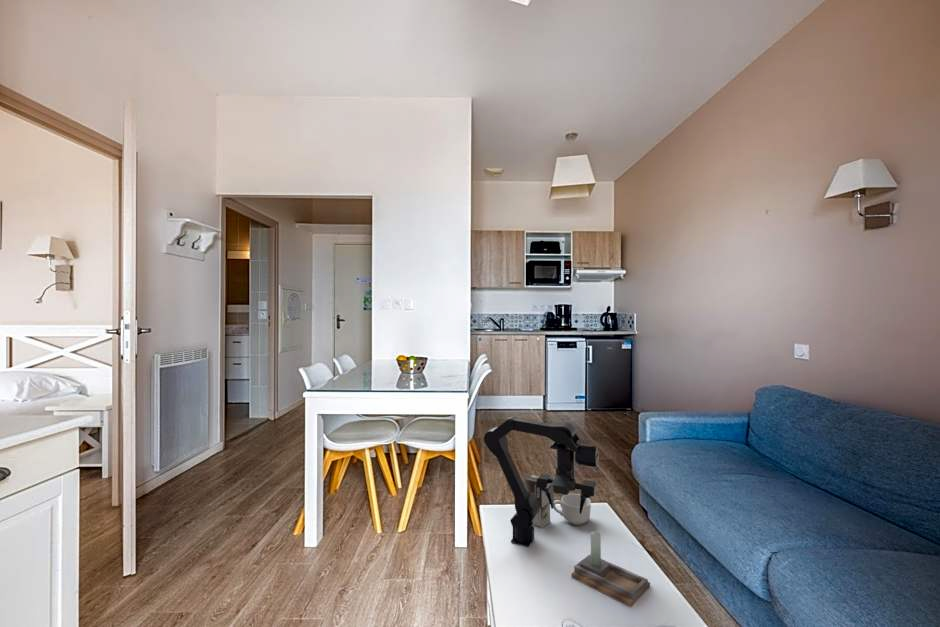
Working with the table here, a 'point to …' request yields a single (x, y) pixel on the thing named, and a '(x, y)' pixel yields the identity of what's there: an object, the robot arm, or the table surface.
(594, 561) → the fader knob
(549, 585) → the table surface
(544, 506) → the coffee box
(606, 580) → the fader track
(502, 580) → the table surface
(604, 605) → the table surface
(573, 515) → the teacup
